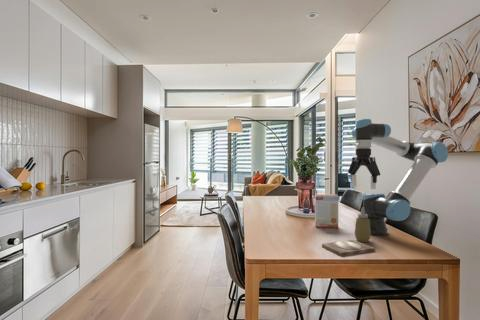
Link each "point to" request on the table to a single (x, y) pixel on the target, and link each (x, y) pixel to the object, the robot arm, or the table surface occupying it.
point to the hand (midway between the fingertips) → (363, 187)
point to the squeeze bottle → (362, 227)
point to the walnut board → (348, 247)
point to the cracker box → (326, 210)
